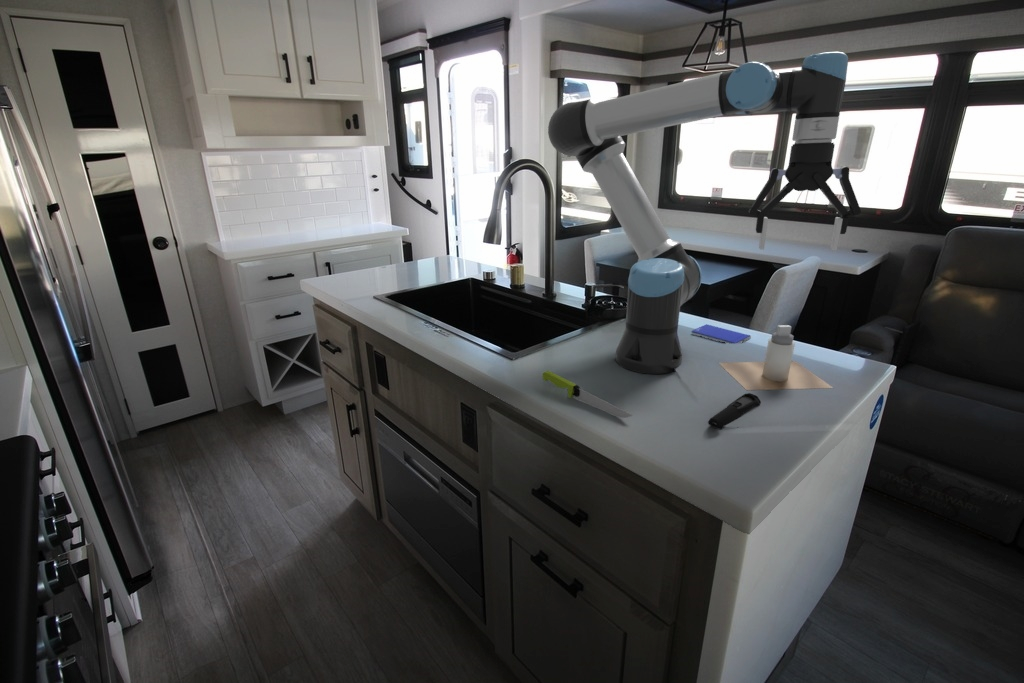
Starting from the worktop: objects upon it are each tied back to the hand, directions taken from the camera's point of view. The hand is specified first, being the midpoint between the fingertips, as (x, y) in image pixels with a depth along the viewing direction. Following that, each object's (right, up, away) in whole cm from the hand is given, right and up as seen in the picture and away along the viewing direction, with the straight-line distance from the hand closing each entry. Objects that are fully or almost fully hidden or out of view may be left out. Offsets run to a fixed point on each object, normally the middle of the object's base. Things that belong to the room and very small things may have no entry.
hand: (796, 249), depth 108 cm
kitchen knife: (-46, -32, -7) cm, 57 cm away
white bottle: (-4, -27, +1) cm, 27 cm away
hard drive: (-5, -19, +28) cm, 34 cm away
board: (-4, -28, +3) cm, 28 cm away
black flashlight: (-19, -34, -13) cm, 41 cm away
